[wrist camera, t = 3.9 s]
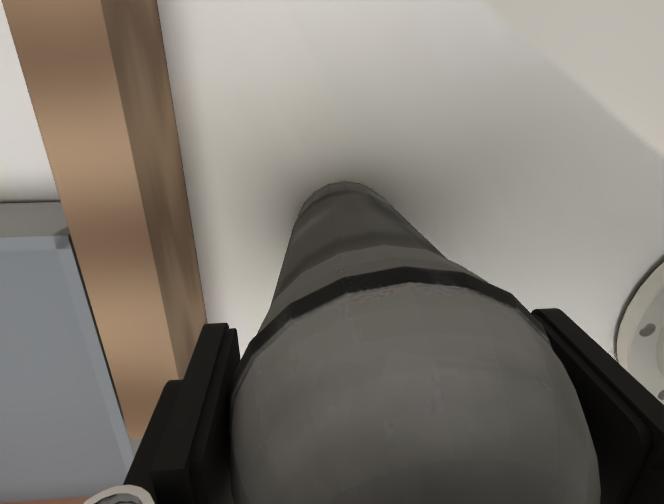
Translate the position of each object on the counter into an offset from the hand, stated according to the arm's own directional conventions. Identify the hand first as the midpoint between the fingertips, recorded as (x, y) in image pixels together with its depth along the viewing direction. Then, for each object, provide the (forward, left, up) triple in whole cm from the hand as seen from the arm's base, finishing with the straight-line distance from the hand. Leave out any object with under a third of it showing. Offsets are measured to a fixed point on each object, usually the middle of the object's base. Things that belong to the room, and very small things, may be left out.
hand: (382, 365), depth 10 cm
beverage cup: (0, 0, -10) cm, 10 cm away
